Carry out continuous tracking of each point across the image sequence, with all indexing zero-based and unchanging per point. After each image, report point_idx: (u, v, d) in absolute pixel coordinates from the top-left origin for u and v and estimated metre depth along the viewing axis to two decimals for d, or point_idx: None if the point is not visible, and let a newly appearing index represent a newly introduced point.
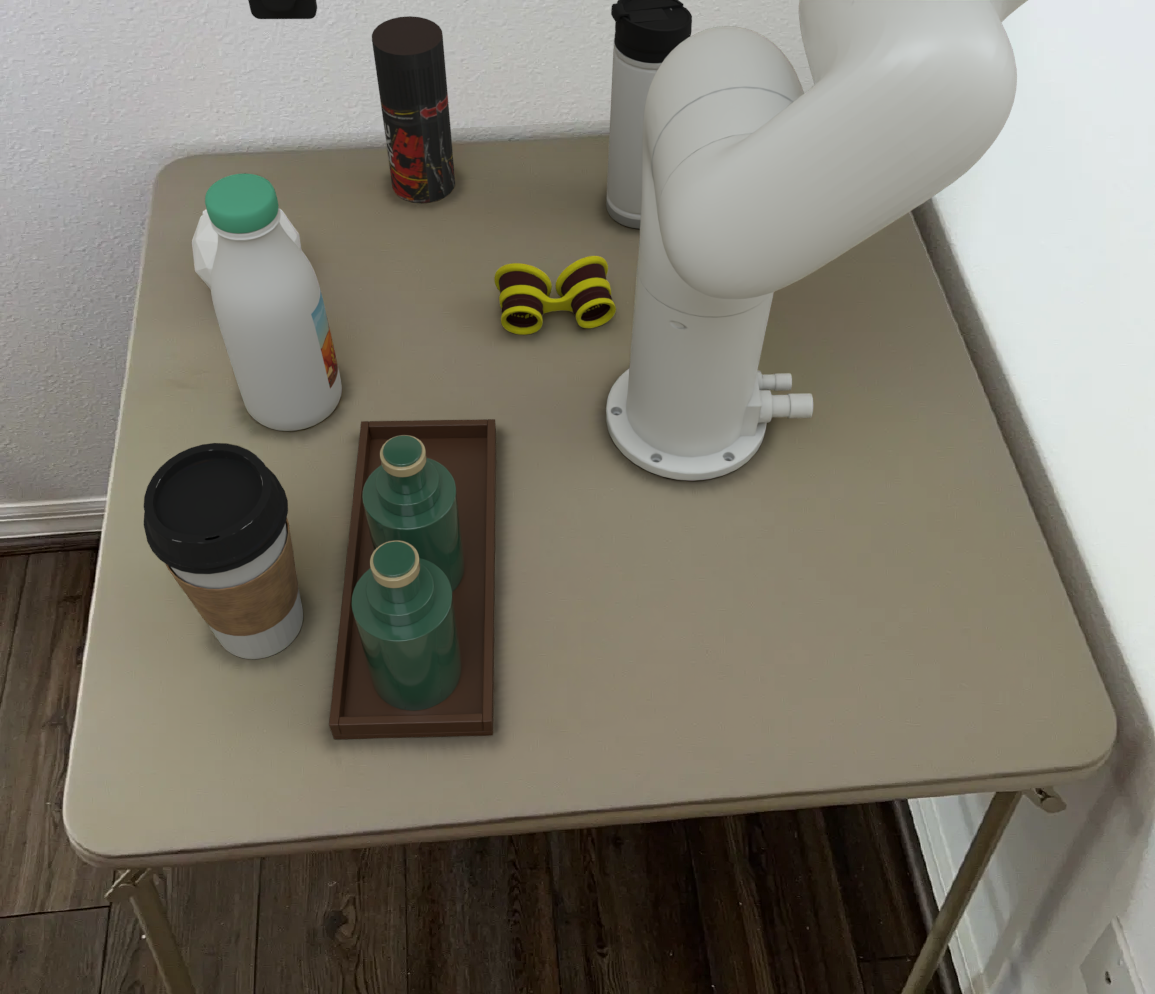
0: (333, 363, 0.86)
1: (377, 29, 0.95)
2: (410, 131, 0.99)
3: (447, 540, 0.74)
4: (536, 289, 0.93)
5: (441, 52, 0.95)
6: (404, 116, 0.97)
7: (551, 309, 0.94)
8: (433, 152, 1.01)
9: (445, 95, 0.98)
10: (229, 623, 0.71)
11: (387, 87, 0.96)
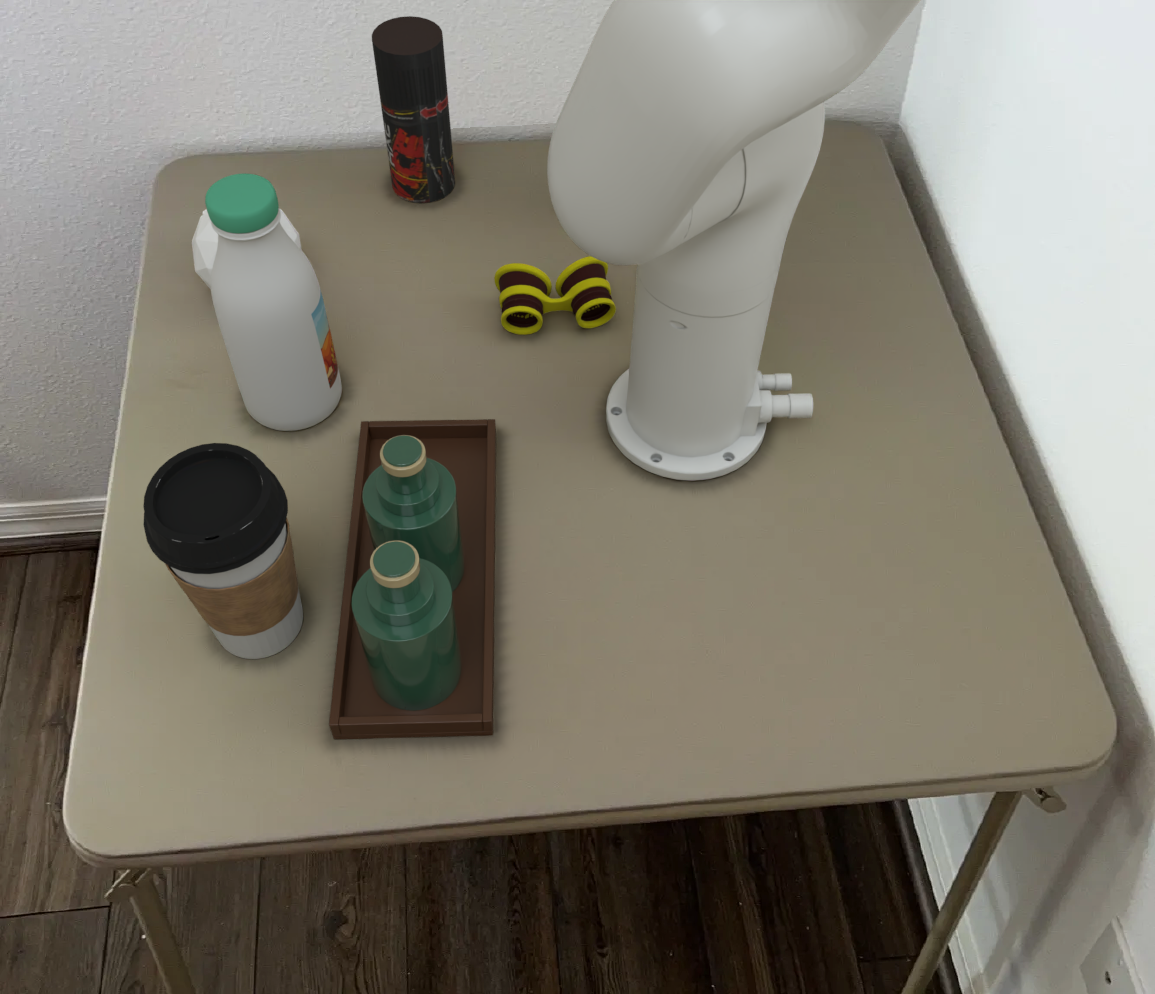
0: (333, 363, 0.86)
1: (377, 29, 0.95)
2: (410, 131, 0.99)
3: (447, 540, 0.74)
4: (536, 289, 0.93)
5: (441, 52, 0.95)
6: (404, 116, 0.97)
7: (551, 309, 0.94)
8: (433, 152, 1.01)
9: (445, 95, 0.98)
10: (229, 623, 0.71)
11: (387, 87, 0.96)
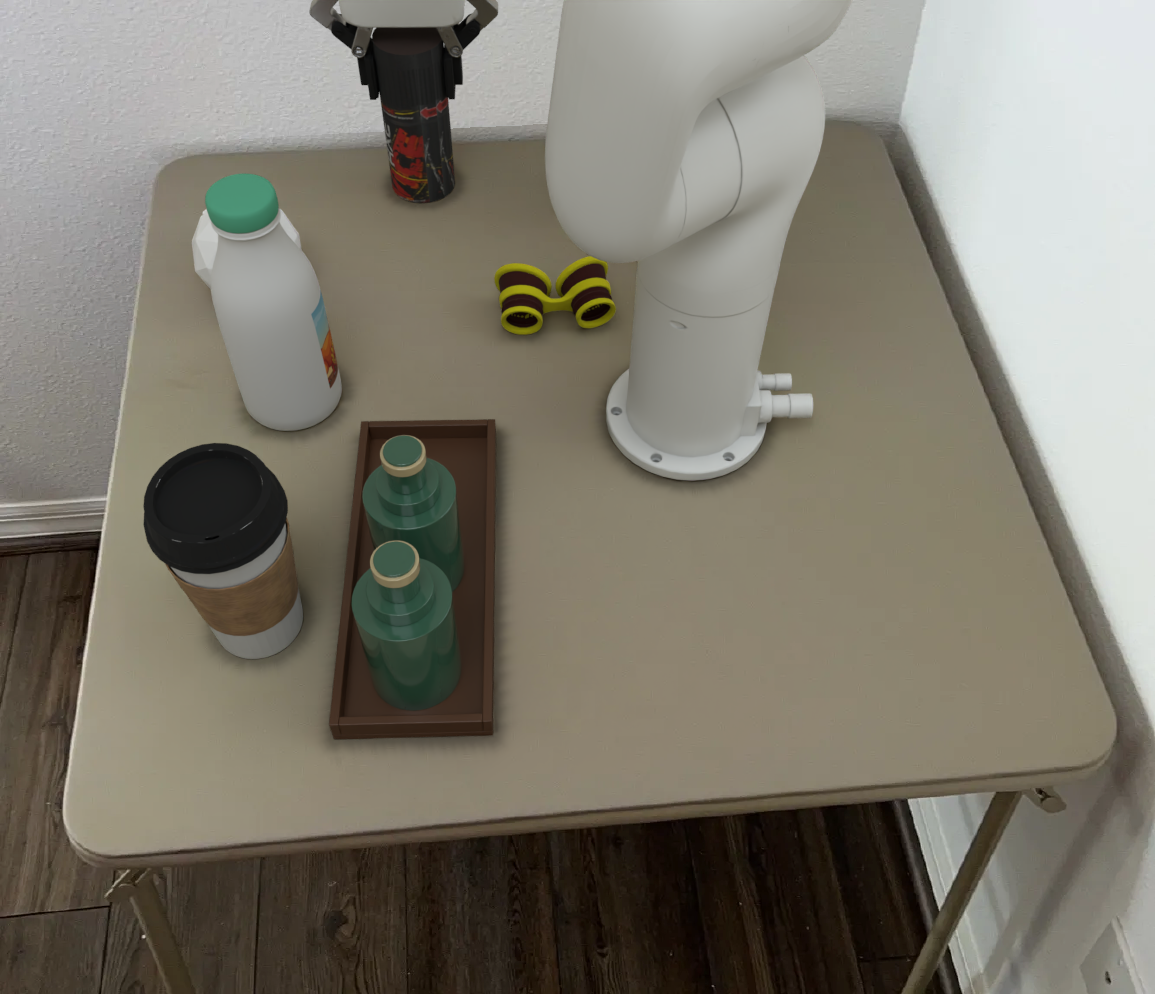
0: (333, 363, 0.86)
1: (378, 29, 0.95)
2: (410, 131, 0.99)
3: (447, 540, 0.74)
4: (536, 289, 0.93)
5: (441, 52, 0.95)
6: (404, 116, 0.97)
7: (551, 309, 0.94)
8: (433, 152, 1.01)
9: (445, 95, 0.98)
10: (229, 623, 0.71)
11: (387, 87, 0.96)
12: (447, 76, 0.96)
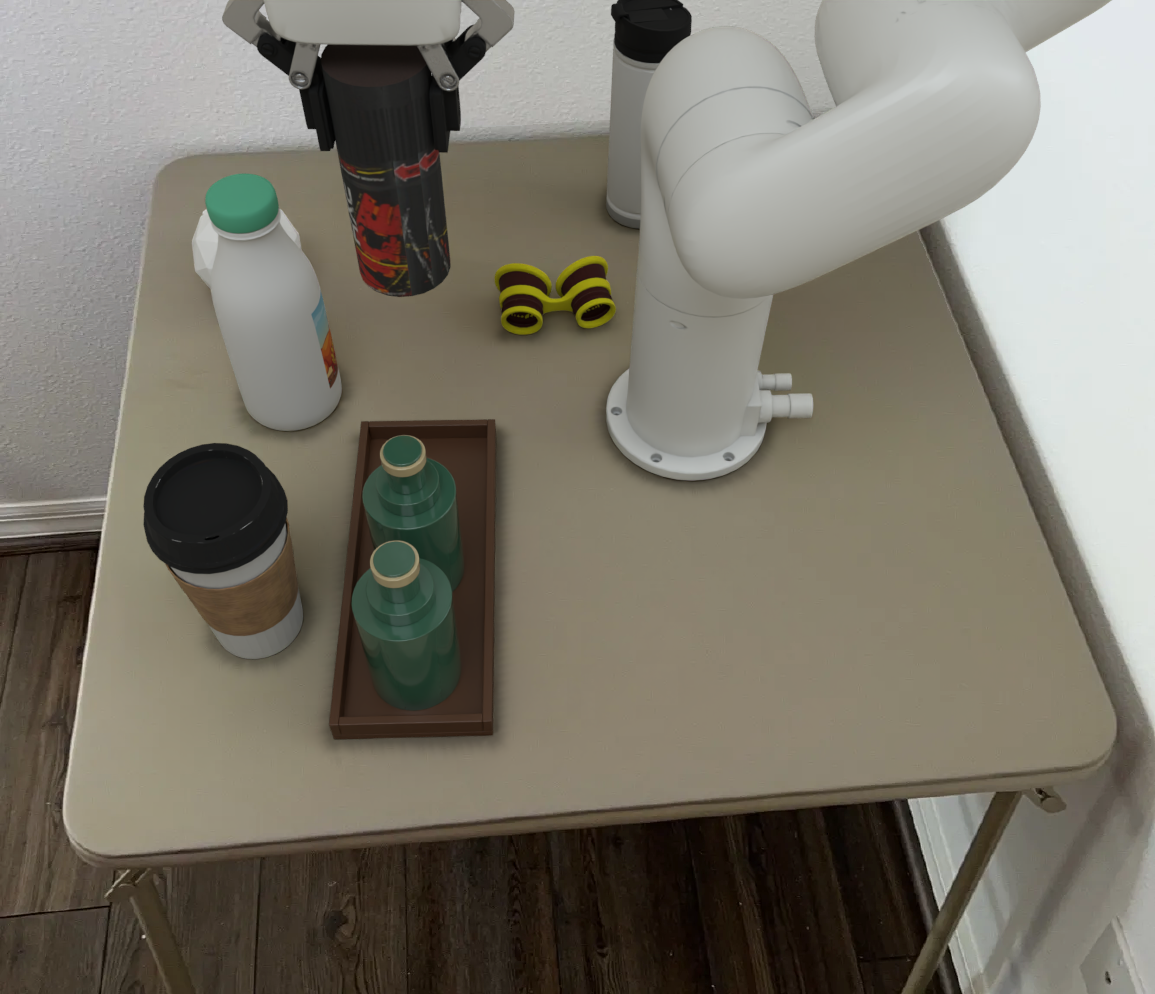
0: (333, 363, 0.86)
1: (331, 46, 0.62)
2: (381, 198, 0.66)
3: (447, 540, 0.74)
4: (536, 289, 0.93)
5: (427, 82, 0.62)
6: (371, 176, 0.65)
7: (551, 309, 0.94)
8: (416, 227, 0.68)
9: (434, 145, 0.66)
10: (229, 623, 0.71)
11: (345, 134, 0.63)
12: (435, 118, 0.63)
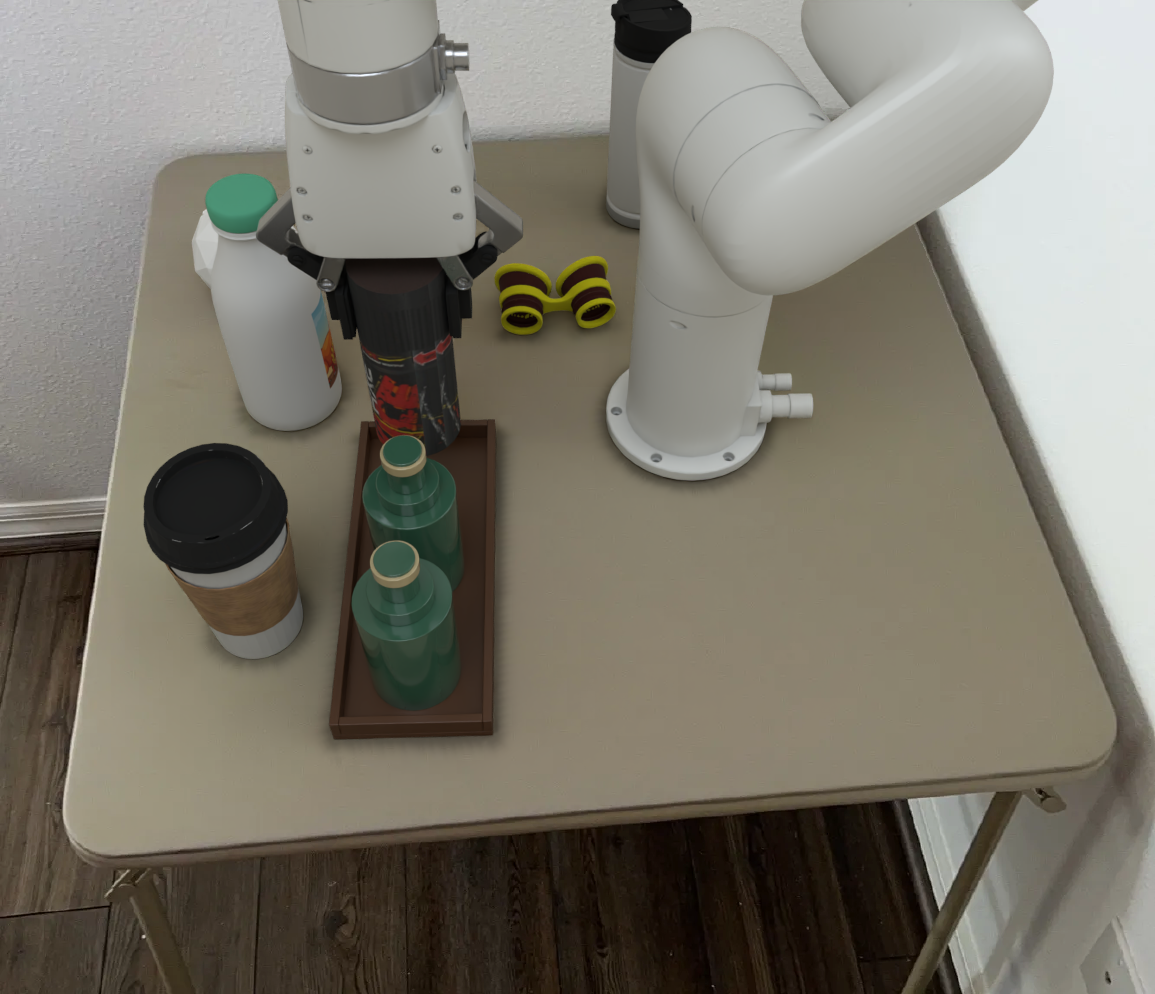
0: (333, 363, 0.86)
1: None
2: (400, 380, 0.72)
3: (447, 540, 0.74)
4: (536, 289, 0.93)
5: (443, 282, 0.68)
6: (391, 362, 0.70)
7: (551, 309, 0.94)
8: (432, 400, 0.74)
9: (448, 331, 0.71)
10: (229, 623, 0.71)
11: (368, 328, 0.69)
12: (451, 312, 0.69)
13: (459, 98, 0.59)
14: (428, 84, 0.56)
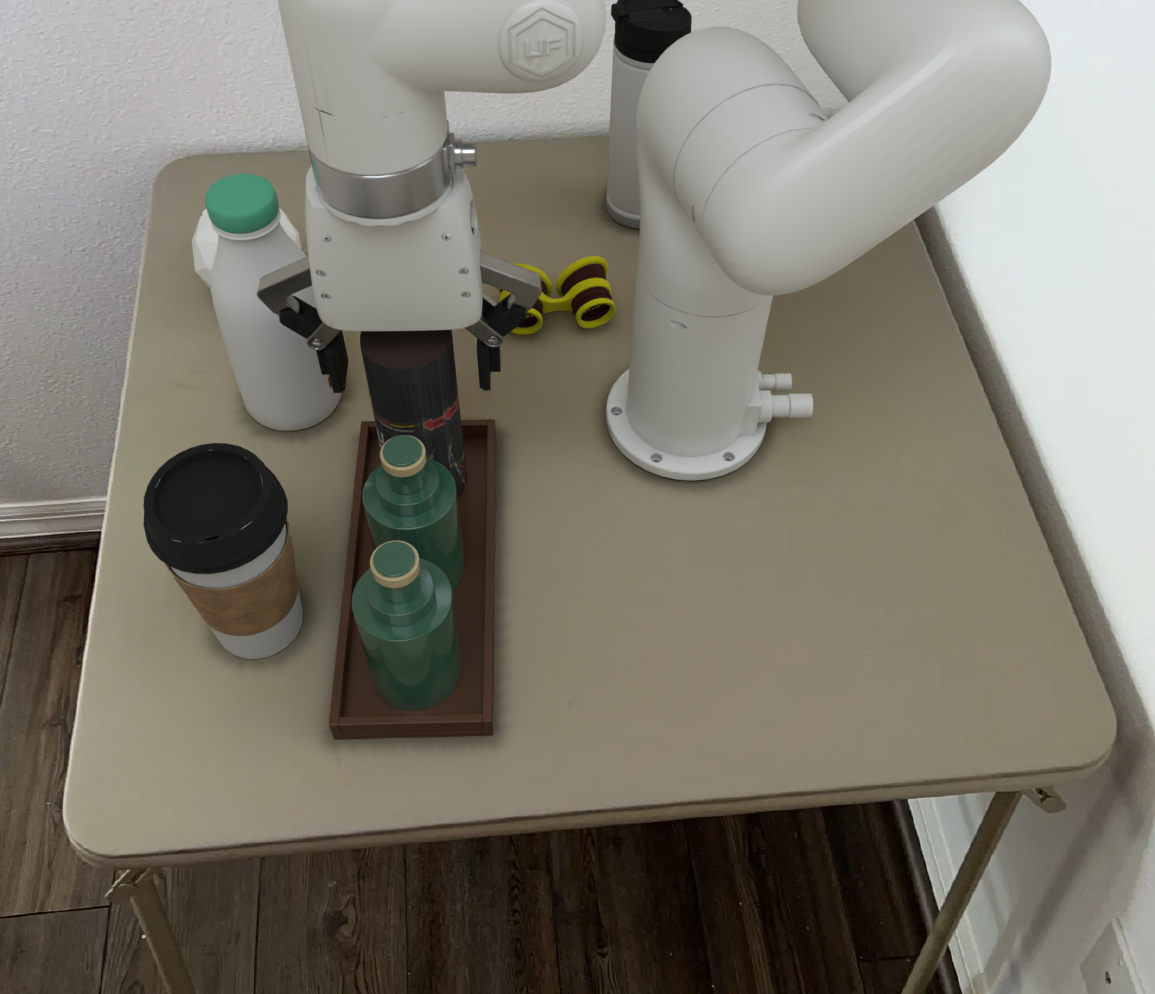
0: None
1: None
2: None
3: (447, 540, 0.74)
4: None
5: (450, 356, 0.73)
6: (402, 428, 0.75)
7: (551, 309, 0.94)
8: (440, 461, 0.79)
9: (455, 398, 0.76)
10: (229, 623, 0.71)
11: (380, 398, 0.74)
12: (481, 367, 0.73)
13: (467, 188, 0.64)
14: (438, 180, 0.61)
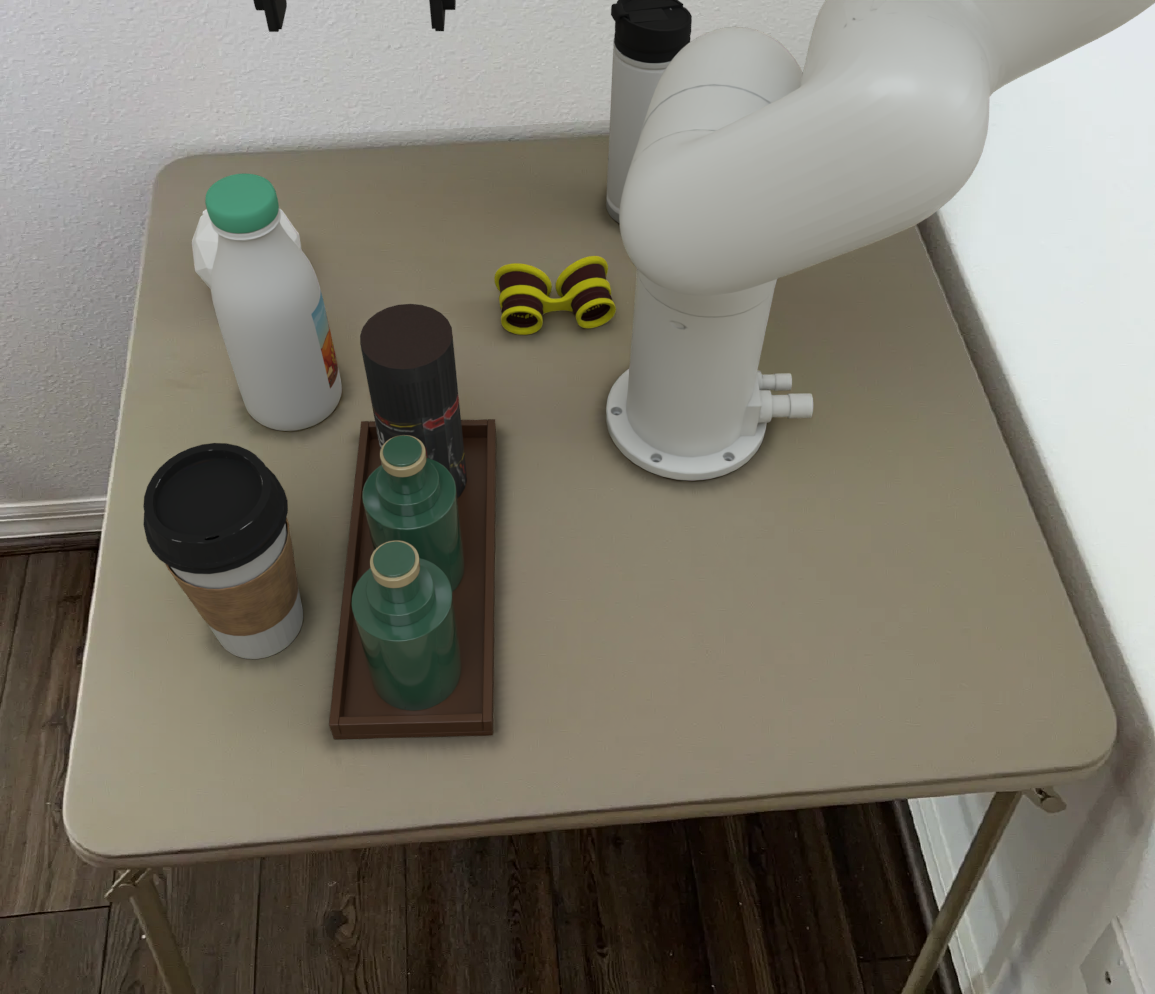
0: (333, 363, 0.86)
1: (367, 326, 0.73)
2: None
3: (447, 540, 0.74)
4: (536, 289, 0.93)
5: (451, 356, 0.73)
6: (402, 428, 0.75)
7: (551, 309, 0.94)
8: (440, 461, 0.79)
9: (455, 398, 0.76)
10: (229, 623, 0.71)
11: (381, 398, 0.74)
12: None
13: None
14: None
